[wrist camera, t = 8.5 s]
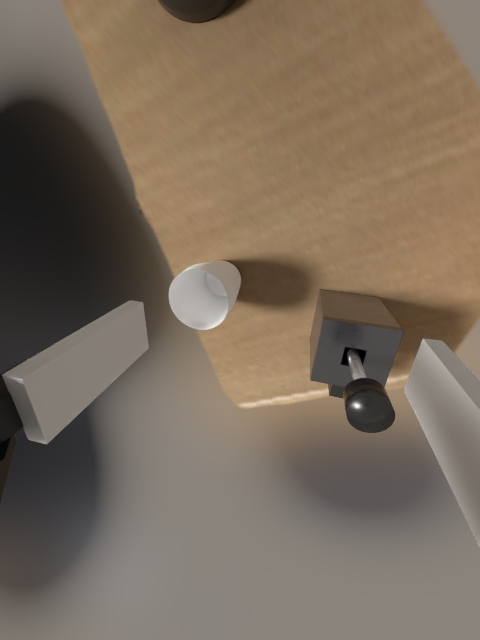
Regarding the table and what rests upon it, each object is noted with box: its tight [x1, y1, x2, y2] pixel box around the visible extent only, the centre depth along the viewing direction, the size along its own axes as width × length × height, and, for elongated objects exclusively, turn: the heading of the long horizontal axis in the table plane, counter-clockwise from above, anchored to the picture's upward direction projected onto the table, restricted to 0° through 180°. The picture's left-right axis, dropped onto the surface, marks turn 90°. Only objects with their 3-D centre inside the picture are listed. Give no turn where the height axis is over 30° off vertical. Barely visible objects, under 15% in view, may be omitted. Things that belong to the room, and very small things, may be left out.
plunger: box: [343, 347, 395, 433], centre depth 34 cm, size 6×6×20 cm
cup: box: [169, 261, 241, 330], centre depth 42 cm, size 9×9×12 cm
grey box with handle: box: [310, 289, 404, 398], centre depth 40 cm, size 12×9×13 cm
